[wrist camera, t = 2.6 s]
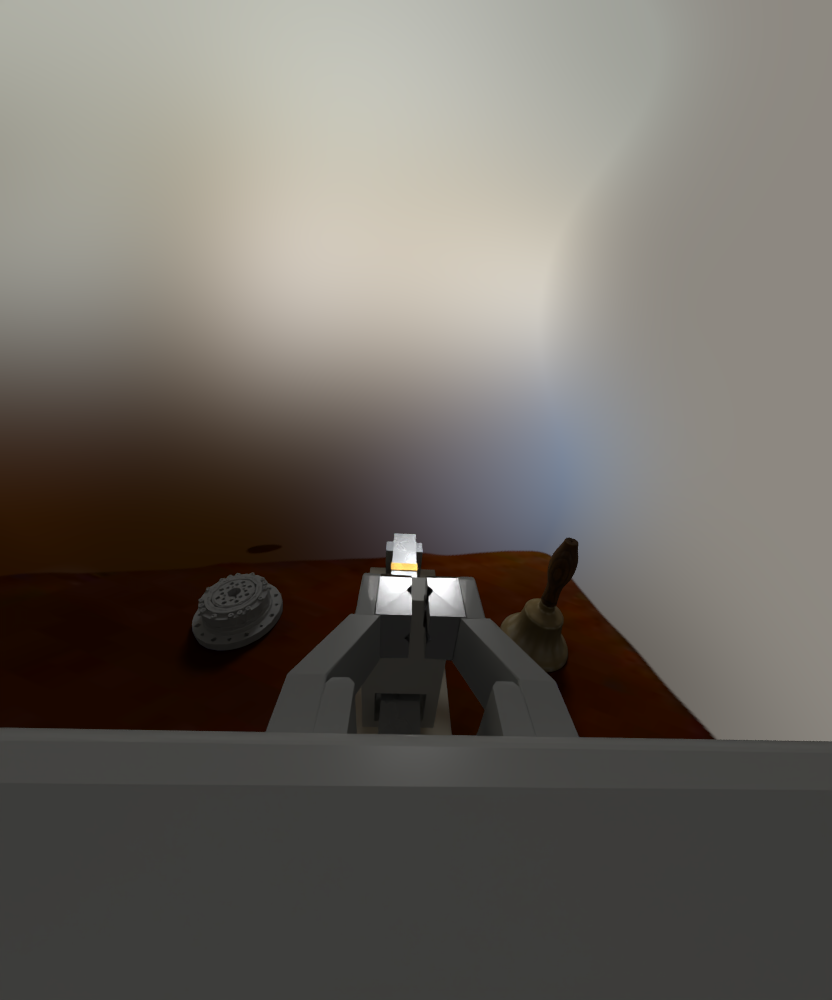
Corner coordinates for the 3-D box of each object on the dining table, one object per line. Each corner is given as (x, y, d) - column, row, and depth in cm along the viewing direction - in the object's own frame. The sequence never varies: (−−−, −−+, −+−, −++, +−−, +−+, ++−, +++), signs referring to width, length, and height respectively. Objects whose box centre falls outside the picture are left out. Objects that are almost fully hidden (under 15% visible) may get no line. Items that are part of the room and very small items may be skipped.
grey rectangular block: (433, 728, 26) (456, 601, 19) (362, 726, 25) (358, 598, 18) (430, 680, 29) (449, 559, 22) (368, 679, 29) (366, 555, 22)
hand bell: (580, 673, 35) (637, 568, 28) (510, 672, 35) (549, 564, 27) (550, 615, 42) (589, 519, 35) (492, 613, 42) (519, 516, 34)
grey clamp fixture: (426, 805, 23) (436, 760, 20) (362, 804, 23) (360, 760, 20) (418, 573, 46) (422, 534, 43) (386, 572, 46) (387, 532, 43)
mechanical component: (293, 626, 38) (272, 579, 45) (288, 601, 36) (267, 556, 43) (199, 668, 33) (192, 607, 40) (187, 642, 31) (182, 583, 38)
